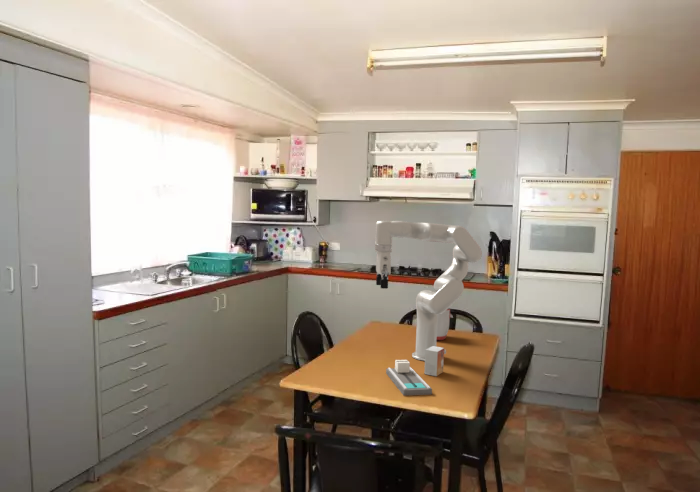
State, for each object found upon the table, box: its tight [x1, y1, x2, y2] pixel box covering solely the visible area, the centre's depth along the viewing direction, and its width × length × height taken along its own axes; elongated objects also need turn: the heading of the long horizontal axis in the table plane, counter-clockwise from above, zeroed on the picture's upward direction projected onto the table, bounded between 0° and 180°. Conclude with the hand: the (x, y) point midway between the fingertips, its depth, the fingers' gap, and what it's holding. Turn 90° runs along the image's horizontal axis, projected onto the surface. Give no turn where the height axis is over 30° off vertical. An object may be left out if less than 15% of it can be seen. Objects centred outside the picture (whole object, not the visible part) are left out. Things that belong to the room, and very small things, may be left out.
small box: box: [424, 345, 445, 377], centre depth 206 cm, size 8×6×10 cm
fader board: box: [385, 366, 433, 396], centre depth 193 cm, size 11×25×2 cm, turn 11°
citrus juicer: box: [437, 308, 454, 341], centre depth 265 cm, size 16×17×20 cm
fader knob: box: [394, 359, 411, 373], centre depth 201 cm, size 5×4×4 cm
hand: (381, 286), depth 219 cm, fingers open, 9 cm apart
